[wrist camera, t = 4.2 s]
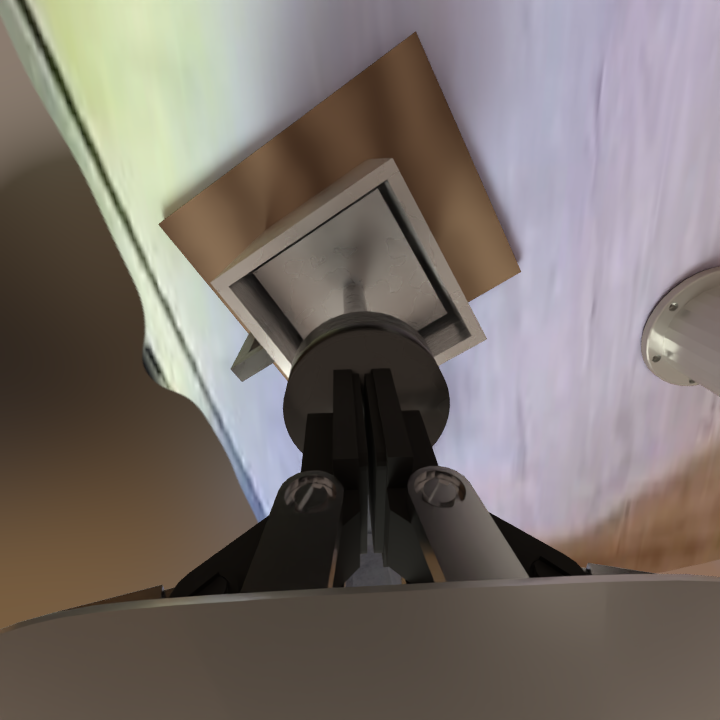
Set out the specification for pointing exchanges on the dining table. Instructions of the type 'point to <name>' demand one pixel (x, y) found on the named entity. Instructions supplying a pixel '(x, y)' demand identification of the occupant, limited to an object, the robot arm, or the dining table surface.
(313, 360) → the plunger
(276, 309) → the open box
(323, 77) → the dining table surface
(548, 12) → the dining table surface
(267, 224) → the walnut board
